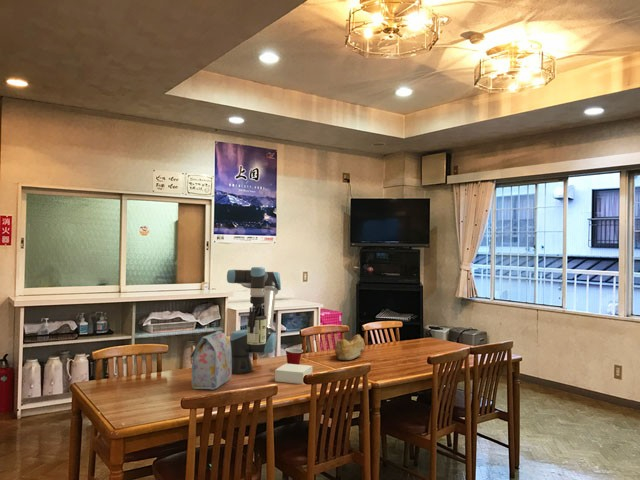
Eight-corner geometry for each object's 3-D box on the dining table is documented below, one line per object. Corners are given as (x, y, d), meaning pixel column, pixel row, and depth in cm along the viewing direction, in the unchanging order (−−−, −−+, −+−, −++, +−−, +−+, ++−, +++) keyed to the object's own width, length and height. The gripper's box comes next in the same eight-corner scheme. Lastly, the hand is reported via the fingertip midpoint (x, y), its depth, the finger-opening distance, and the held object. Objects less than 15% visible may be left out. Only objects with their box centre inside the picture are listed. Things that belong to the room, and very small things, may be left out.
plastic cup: (300, 372, 279) (300, 351, 280) (282, 371, 282) (282, 350, 282) (304, 368, 290) (305, 348, 290) (287, 367, 292) (287, 347, 292)
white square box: (274, 381, 260) (275, 369, 260) (285, 374, 276) (285, 363, 276) (302, 384, 256) (303, 372, 256) (312, 376, 271) (312, 365, 271)
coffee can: (249, 340, 263) (250, 314, 264) (268, 341, 262) (268, 315, 263) (244, 344, 253) (245, 317, 254) (263, 345, 252) (264, 318, 252)
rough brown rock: (350, 354, 334) (349, 332, 335) (368, 356, 322) (367, 334, 323) (326, 360, 318) (325, 337, 319) (344, 362, 306) (343, 339, 307)
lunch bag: (204, 377, 265) (205, 329, 266) (233, 379, 262) (234, 330, 263) (186, 389, 243) (187, 336, 243) (218, 391, 240) (219, 337, 241)
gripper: (254, 298, 246) (253, 342, 246) (272, 294, 268) (271, 334, 267) (241, 297, 249) (240, 340, 248) (259, 294, 270) (259, 333, 270)
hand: (256, 337), depth 258 cm, fingers closed on coffee can, 10 cm apart
